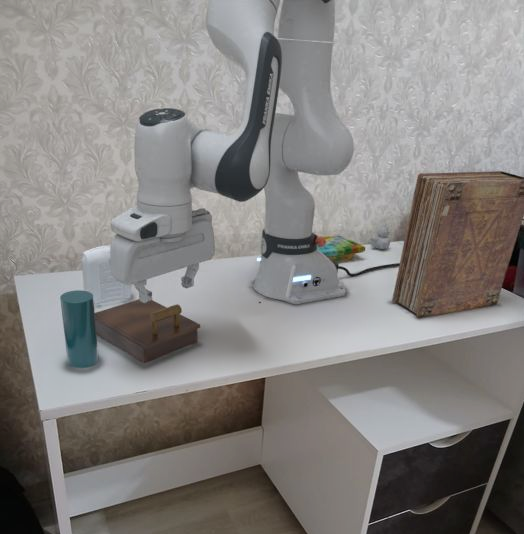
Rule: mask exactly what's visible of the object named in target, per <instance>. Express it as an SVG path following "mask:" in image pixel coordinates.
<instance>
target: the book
mask: <svg viewBox="0 0 524 534" xmlns="http://www.w3.org/2000/svg"><path fill="white" fill-rule="evenodd" d="M523 219H524V176H520V175H517V174H513V173H510V172H505V171H503V170H500V171H499V170H497V171H495V170H494V171H460V172H459V171H458V172H453V171H452V172H421V173H418V174H417V177H416V183H415V187H414V192H413V196H412V201H411V208H410V212H409V217H408V222H407V225H406V226H407V227H406V231H405V236H404V242H403V245H402V249H401V250H402V251H401V256H400V261H399V263H400V265H399V266H398V271H397V275H396V280H395V285H394V290H393V294H392V299H391V302H392V303H393V304H397V303H398V304H400V305H402V306H403V307H405V308H406V309H408V310H409V311H411V312H413V313H414V314H416V318H418V319H422V318H428V317H433V316H439V315H445V314H449V313H456V312H460V311H467V310H472V309H479V308H483V307H489V306H495V305H497V304H498V302H499V299H500V295H501V293H502V289H503V285H504V282H505V280H506V275H507V272H508V270H509V265H510V262H511V259H512V256H513V252H514V248H515V246H516V242H517V239H518V235H519V232H520V229H521V226H522V221H523Z"/></svg>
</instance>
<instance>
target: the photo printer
mask: <svg viewBox="0 0 524 534" xmlns="http://www.w3.org/2000/svg"><path fill="white" fill-rule="evenodd" d="M110 246H111V244H109V245H100V246H95V247H93V248H90V249H87V250H85V251H83V252H82V253H81V271H82V282H83V283H82V285H83V291H88V292H90V293H92V294H93V299H94V305H97V304H103V303H109V302H116V301H120V300H127V299H130V298H132V284H130V285H125V284H123V283H121V282H119V281H117V280H116V279H115V278H114V277H113V276H112V273H111V265H110Z"/></svg>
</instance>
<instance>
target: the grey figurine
mask: <svg viewBox="0 0 524 534" xmlns="http://www.w3.org/2000/svg"><path fill="white" fill-rule="evenodd" d="M389 234H390V231H389V228H388V227H387V223H385V224H382V225H381V226H380V227H379V228H378V230H377V235H375V236H371V237H370V240H371V241H370V242H371V243H370V245H371V246H373V247H375V248H377V249H379V250H386V249H388V248H389V247H390V245H391V239H390V237H389Z"/></svg>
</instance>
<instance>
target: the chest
mask: <svg viewBox="0 0 524 534" xmlns="http://www.w3.org/2000/svg"><path fill="white" fill-rule="evenodd" d="M95 323H96V335H97V336H98V337H100V338H102V339H103V340H105V341H106V342H108V343H109V344H111V345H113V346H114V347H116V348H118V350H119V349H120V350H121V351H122V352H124V353H126V354H127V355H129V356H131V357H132V358H134V359H135V360H137V361H139V362H141V363H142V364H147V363H149V362H151V361H154V360H157V359H159V358H161V357H164V356H167V355H169V354H171V353H174V352H177V351H179V350H181V349H183V348H186V347H189V346H191V345H193V344H196V343H198V329H196V330H194V331H191V332H189V333H186V334H184V335H181V336H179V337H176V338H173V339H171V340H168V341H166V342H163V343H161V344H158V345H156V346H153V347H150V348H148V349H145V348H144V347H142V346H140V345H139V344H137V343H135V342H134V341H132V340H130V339H129V338H127V337H125V336H124V335H122V334H120V333H119V332H117V331H115V330H113V329H112V328H110V327H108V326H107V325H105V324H103V323H102V322H100V321H98V320H97V319H95Z"/></svg>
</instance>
